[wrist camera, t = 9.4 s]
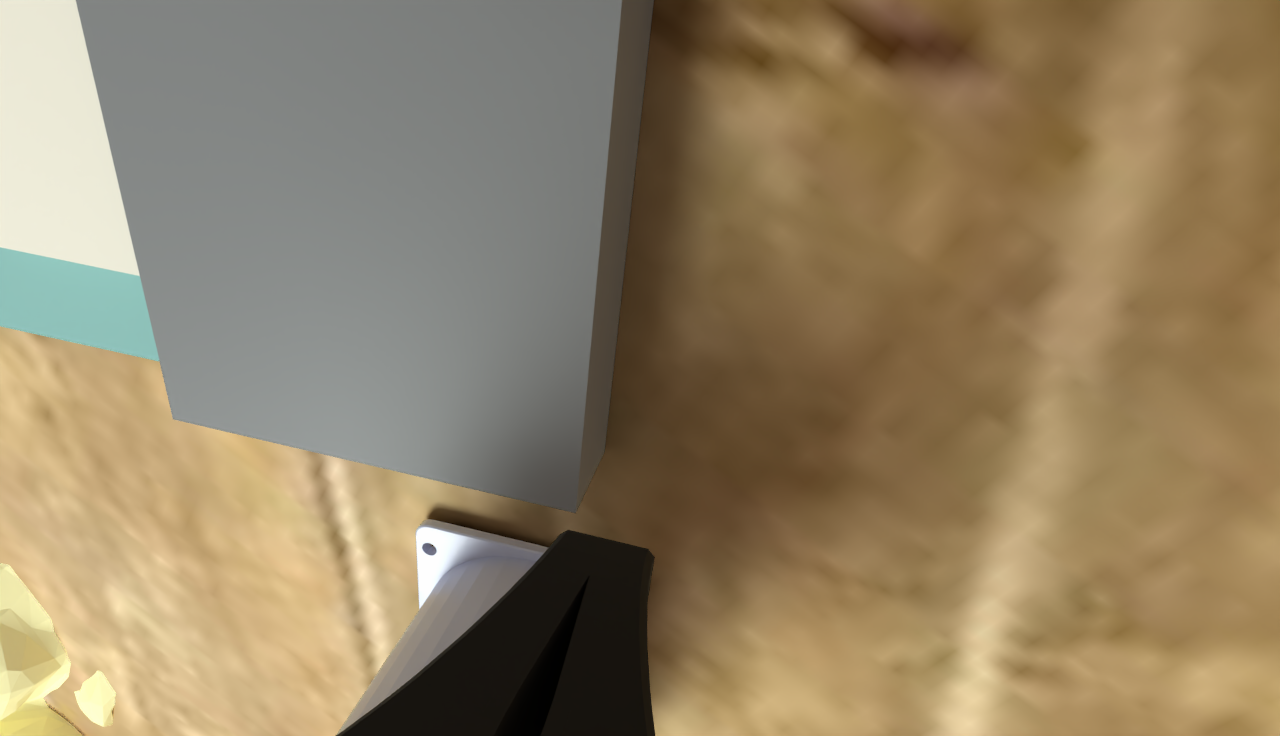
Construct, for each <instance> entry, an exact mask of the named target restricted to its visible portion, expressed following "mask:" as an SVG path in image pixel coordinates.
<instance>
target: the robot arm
mask: <svg viewBox="0 0 1280 736" xmlns="http://www.w3.org/2000/svg"><path fill="white" fill-rule="evenodd" d="M429 543H430V544H432V545H434V547H433V546H431V545H430V544H429ZM416 549H417V571H418V592H419V611H418V613H417V614H416V616H415V617H414V619H413V620H412V622H411V623H410V625H409V626H408V628H407V629H406V631H405V632H404V634H403V635H402V637H401V638H400V640H399V641H398V643H397V644H396V646H395V647H394V649H393V650H392V652H391V653H390V655H389V656H388V658H387V659H386V661H385V662H384V664H383V665H382V667H381V668H380V670H379V671H378V673H377V674H376V676H375V677H374V679H373V680H372V682H371V683H370V685H369V686H368V688H367V689H366V691H365V692H364V694H363V695H362V697H361V698H360V700H359V702H358V703H357V705H356V706H355V708H354V709H353V711H352V712H351V714H350V715H349V717H348V718H347V720H346V721H345V723H344V724H343V726H342V727H341V729H340V730H339V732H338V733H337V735H336V736H655V730H654V722H653V714H652V705H651V694H650V682H649V666H648V650H647V601H648V595H649V589H650V582H651V576H652V570H653V564H654V558H655V557H654V556H653V555H652V553H651V552H650V551H649V549H646V548H641V547H637V546H633V545H629V544H625V543H620V542H616V541H612V540H608V539H604V538H600V537H595V536H591V535H587V534H583V533H579V532H574V531H570V530H567V531H565V532H563V533H562V534H560V535H559V536H558V537H557V539H556V540H555V541H554V542H553V543H552V545H551V546H550V547H545V546H541V545H537V544H532V543H528V542H524V541H520V540H516V539H512V538H508V537H503V536H499V535H495V534H491V533H487V532H483V531H479V530H475V529H470V528H466V527H462V526H458V525H454V524H450V523H446V522H441V521H437V520H432V519H427V520H424V521H423V522H422V523H421V524H420V526H419V527H418V528H417V530H416Z"/></svg>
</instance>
